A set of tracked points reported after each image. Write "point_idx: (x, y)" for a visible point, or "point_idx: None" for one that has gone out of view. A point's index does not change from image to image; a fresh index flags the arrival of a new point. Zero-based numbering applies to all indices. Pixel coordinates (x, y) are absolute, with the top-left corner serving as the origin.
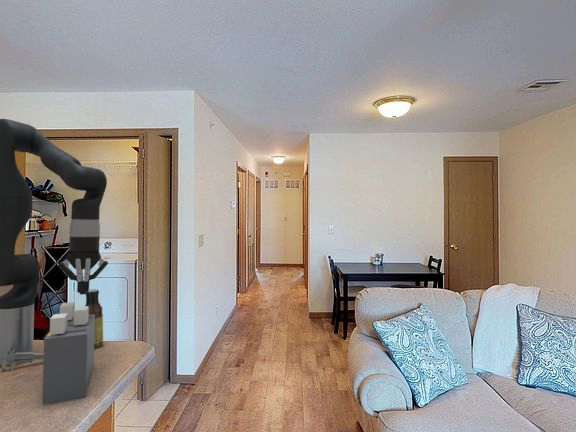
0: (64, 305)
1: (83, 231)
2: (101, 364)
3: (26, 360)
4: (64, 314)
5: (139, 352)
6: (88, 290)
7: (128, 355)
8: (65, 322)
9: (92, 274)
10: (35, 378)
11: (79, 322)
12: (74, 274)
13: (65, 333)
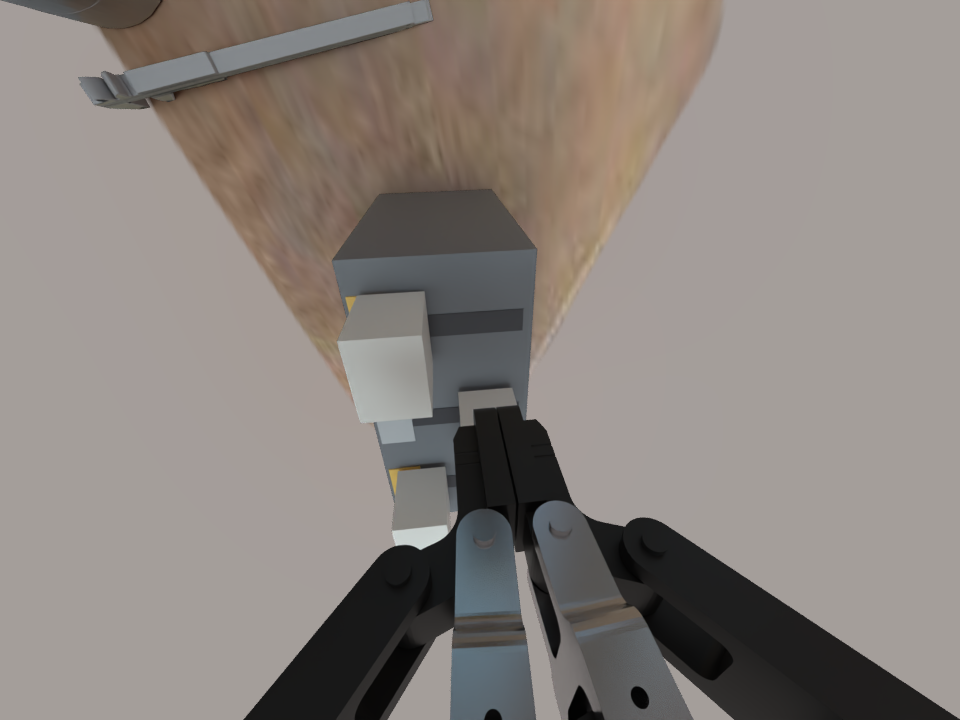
0: (379, 404)
1: None
2: (516, 179)
3: (204, 83)
4: (439, 537)
5: (662, 93)
6: (539, 430)
7: (615, 115)
8: (449, 524)
9: (636, 589)
10: (323, 227)
11: None
12: (412, 618)
13: (449, 489)
